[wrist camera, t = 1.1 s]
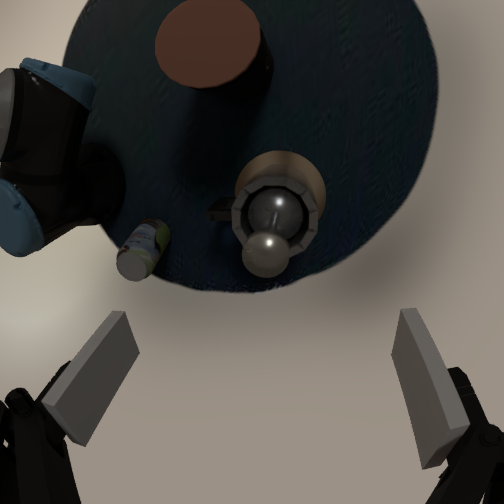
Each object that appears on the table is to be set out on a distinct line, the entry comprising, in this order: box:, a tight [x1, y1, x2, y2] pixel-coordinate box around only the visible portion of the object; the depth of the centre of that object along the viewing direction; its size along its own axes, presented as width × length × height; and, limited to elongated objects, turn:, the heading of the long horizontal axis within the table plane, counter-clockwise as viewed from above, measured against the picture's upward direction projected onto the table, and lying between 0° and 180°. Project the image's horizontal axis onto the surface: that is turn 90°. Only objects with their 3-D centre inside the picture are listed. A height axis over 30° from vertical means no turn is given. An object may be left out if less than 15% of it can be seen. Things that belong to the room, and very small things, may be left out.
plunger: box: [242, 188, 303, 278], centre depth 32 cm, size 7×7×13 cm
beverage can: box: [116, 218, 171, 281], centre depth 47 cm, size 6×7×12 cm
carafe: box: [206, 164, 318, 258], centre depth 41 cm, size 13×10×12 cm
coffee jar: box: [155, 0, 274, 101], centre depth 32 cm, size 11×11×18 cm
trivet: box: [235, 151, 326, 220], centre depth 47 cm, size 14×14×1 cm
